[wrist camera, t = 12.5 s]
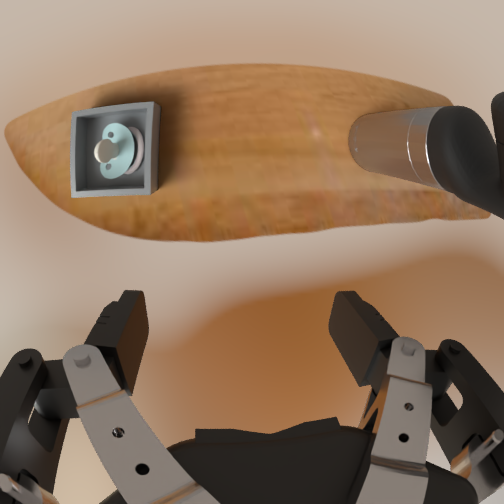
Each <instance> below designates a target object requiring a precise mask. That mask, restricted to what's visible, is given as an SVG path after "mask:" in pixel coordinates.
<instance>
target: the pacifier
mask: <svg viewBox="0 0 504 504" xmlns="http://www.w3.org/2000/svg"><path fill="white" fill-rule="evenodd" d="M110 132H113V134H114V136H113V138H110V137H109V133H110ZM131 133H132V134H133V135H134V136H135V137H136V140H137V144H138V152H137V157H136V160H135V161H134V163H133V164H132V166H130V164H131V162H132V160H133V156H134V139H133V136H132V134H131ZM102 139H103V140H101V141H100V142H99V143H98V144H97V145H96V147H95V151H94V154H95V158H96V159H97V160H98V161H99V162H101V164H100V170H101V173H102V175H103V176H104V177H105V178H108V179H113V178H117V177H119V176H121V175H122V174H131V173H133V172H134V171H136V169H137V168H138V167H139V165H140V163H141V161H142V158H143V154H144V141H143V137H142V134H141V133H140V131H139V130H138V129H137V128H135V127H128V128H127V127H125V126H124V125H122V124H119V123H112V124H109V125H108V126H106V128H105V129H104V131H103V135H102ZM107 164H111V169H109V170H107V168H106V166H107ZM129 166H130V167H129Z"/></svg>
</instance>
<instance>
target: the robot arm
mask: <svg viewBox="0 0 504 504" xmlns="http://www.w3.org/2000/svg"><path fill="white" fill-rule="evenodd" d="M491 113H492V120H493V126H494V132H495V138H496V144H495V142H494V139H493V137H492V135H491V133H490V131H489V129H488V127H487V125H486V124H485V122H484V121H483V119H482V118H481V117H480V116H479V115H478V114H477V113H476V112H475V111H473V110H472V109H470V108H467V107H464V106H442V107H427V108H416V109H406V110H397V111H389V112H381V113H374V114H368V115H364V116H362V117H360V118H358V119H357V120H356V121H355V122H354V124H353V125H352V127H351V130H350V133H349V147H350V151H351V154H352V156H353V158H354V159H355V161H356V162H357V163H358V164H359V166H361V167H362V168H363V169H365V170H368V171H370V172H375V173H380V174H384V175H388V176H392V177H396V178H400V179H404V180H408V181H412V182H416V183H420V184H423V185H427V186H430V187H434V188H438V189H441V190H444V191H448V192H451V193H454V194H455V195H456V196H457V197H459V198H460V199H461V200H463V201H465V202H467V203H470V204H472V205H475V206H477V207H479V208H482V209H484V210H486V211H488V212H490V213H493V214H494V215H496V216H498V217H500V218H502V219H504V92H502V93H499V94H497V95H496V96H495V97H494V98H493V100H492V103H491ZM496 145H497V146H496ZM148 333H149V325H148V317H147V311H146V305H145V297H144V293H143V291H137V290H135V291H134V290H125V291H124V292H123V294H122V296H121V297H120V299H119V301H118V302H117V301H113V302H111V303H110V304H109V305H107V306H106V307H105V308H104V309H103V311H102V313H101V314H100V317H99V318H98V319H97V321H96V324H95V325H94V327H93V328H92V330H91V332H90V334H89V335H88V337H87V339H86V341H85V343H84V344H83V345H78V346H75V347H73V348H71V349H69V350H68V351H67V352H66V354H65V355H64V357H63V359H61V360H50V361H44V360H43V358H42V355H41V353H40V352H39V351H37V350H35V349H24V350H21V351H19V352H17V353H16V354H15V355H14V356H13V357H12V359H11V360H10V362H9V364H8V365H7V367H6V369H5V370H4V372H3V374H2V376H1V377H0V504H59V502H58V501H57V499H56V498H55V497H54V496H53V490H54V484H55V477H56V473H57V468H58V463H59V459H60V454H61V450H62V446H63V442H64V438H65V434H66V430H67V427H68V423H69V420H70V418H81V421H82V424H83V425H84V428H85V430H86V432H87V435H88V437H89V439H90V441H91V443H92V445H93V447H94V449H95V451H96V453H97V455H98V456H99V458H100V460H101V462H102V464H103V465H104V467H105V469H106V470H107V472H108V474H109V476H110V478H111V479H112V481H113V482H114V484H115V486H116V487H117V490H116V491H115V492H113V493H112V494H111V495H110V496H108V497H107V498H106V499H104V500H103V501H102V502H101V503H99V504H479V503H480V502H481V501H483V500H484V499H485V498H487V497H488V496H490V495H491V494H493V493H494V492H496V491H497V490H498V489H500V488H501V487H502V486H504V393H503V391H502V390H501V389H500V387H499V386H498V385H497V384H496V382H495V381H494V380H493V379H492V377H491V376H490V375H489V374H488V373H487V372H486V370H485V369H484V368H483V367H482V366H481V365H480V363H479V362H478V361H477V360H476V359H475V358H474V357H473V356H472V354H471V353H470V352H469V351H468V350H467V349H466V348H465V347H464V346H463V345H462V344H461V343H459V342H457V341H455V340H451V339H446V340H443V341H442V342H441V344H440V346H439V348H438V350H425V349H424V347H423V346H422V344H421V343H419V342H418V341H417V340H415V339H412V338H409V337H400V336H399V335H398V334H397V333H396V332H395V331H394V329H393V328H392V327H391V326H390V325H389V324H388V322H387V321H386V320H385V319H384V318H383V317H382V315H380V313H379V312H378V311H377V310H376V309H375V308H374V307H373V306H372V305H370V304H369V303H367V302H365V301H363V300H362V299H361V298H360V297H359V295H358V294H357V293H356V292H355V291H339V292H337V293H336V295H335V298H334V302H333V307H332V311H331V315H330V319H329V333H330V335H331V337H332V339H333V341H334V342H335V344H336V346H337V348H338V350H339V351H340V353H341V355H342V357H343V358H344V360H345V362H346V364H347V366H348V367H349V369H350V371H351V373H352V374H353V376H354V378H355V380H356V382H357V384H358V386H359V387H361V386H366V385H371V387H372V388H371V390H370V392H369V395H368V398H367V402H366V405H365V408H364V411H363V414H362V417H361V420H360V423H359V426H358V428H356V427H351V426H340V424H339V422H338V420H337V417H332V418H327V419H322V420H316V421H310V422H304V423H302V424H299V425H296V426H293V427H291V428H288V429H285V430H282V431H279V432H276V433H272V434H265V433H257V432H249V431H243V430H236V429H195V438H194V439H189V440H185V441H182V442H179V443H177V444H174V445H172V446H170V447H168V448H165V447H164V445H163V444H162V443H161V442H160V440H159V439H158V438H157V437H156V435H155V434H154V432H153V431H152V430H151V428H150V427H149V426H148V424H147V423H146V421H145V420H144V419H143V417H142V416H141V415H140V413H139V411H138V410H137V408H136V407H135V405H134V404H133V402H132V401H131V399H130V398H129V396H132V394H133V389H134V386H135V382H136V378H137V374H138V370H139V367H140V363H141V360H142V356H143V352H144V349H145V345H146V342H147V339H148ZM452 382H453V383H454V385H455V386H456V388H457V389H458V390H459V392H460V393H461V395H462V397H463V404H462V406H461V408H460V409H459V410H458V409H457V407H456V406H455V405H454V403H453V402H452V400H451V399H450V397H449V396H448V394H447V393H446V391H447V389H448V388H449V387H450V385H451V384H452ZM33 406H34V407H35V408H34V411H33V413H32V416H31V418H30V421H29V424H28V419H29V416H30V414H31V411H32V409H33ZM430 428H431V430H432V432H433V433H434V435H435V437H436V439H437V441H438V442H439V444H440V446H441V448H442V450H443V452H444V454H445V456H446V457H447V459H448V461H449V463H450V465H451V466H450V470H451V471H448V470H446V469H443V468H441V467H439V466H436V465H434V464H432V463H430V462H427V461H426V456H427V449H428V442H429V433H430Z"/></svg>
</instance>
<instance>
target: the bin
mask: <svg viewBox="0 0 504 504" xmlns="http://www.w3.org/2000/svg"><path fill="white" fill-rule="evenodd" d="M160 117H161V106H159V105H158V104H157V103H155V102H140V103H130V104H120V105H112V106H105V107H98V108H92V109H86V110H80V111H75V112H72V121H71V141H70V175H71V197H72V198H77V197H96V196H120V195H151V194H152V193H154V192H155V191H157V190H158V162H159V134H160ZM112 123H119V124H122V125H124V126H125V127H127V128H128V127H135V128H137V129H138V130H139V131H140V133H141V134H142V137H143V141H144V154H143V158H142V161H141V163H140V165H139V167H138V168H137V169H136V171H134V172H133V173H131V174H122V175H121V176H119V177H117V178H113V179H108V178H105V177H104V176H103V175H102V173H101V170H100V164H101V162H99V161H98V160H97V159H96V158H95V154H94V151H95V147H96V145H97V144H98V143H99V142H100V141H101V140H103V139H102V135H103V131H104V129H105V128H106V126H108V125H109V124H112ZM131 134H132V133H131ZM113 136H114V134H113V132H110V133H109V137H110V138H113ZM132 136H133V139H134V156H133V160H132V162H131V164H130V166H132V164H133V163H134V161H135V160H136V157H137V152H138V144H137V140H136V137H135V136H134V135H133V134H132ZM130 166H129V167H130ZM106 168H107V170H109V169H111V164H107V166H106Z"/></svg>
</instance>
